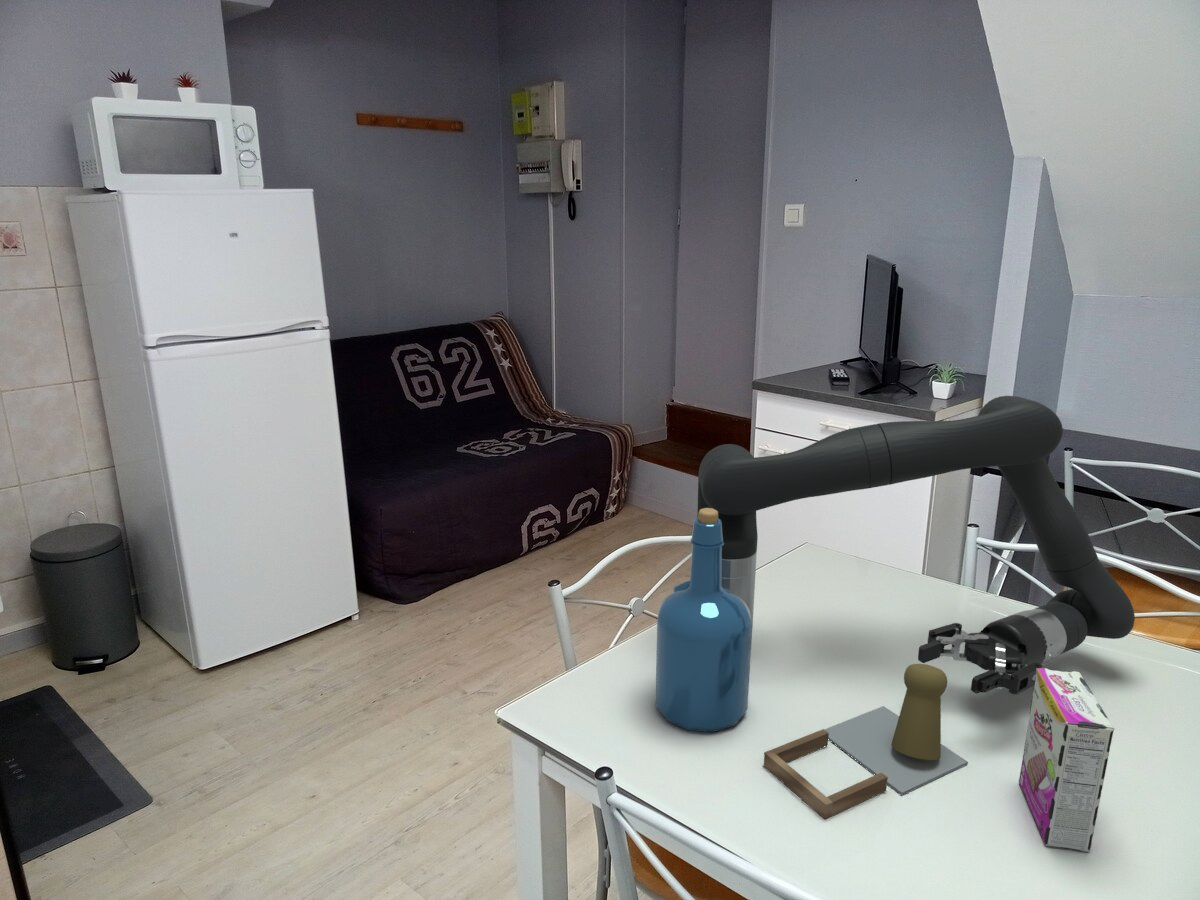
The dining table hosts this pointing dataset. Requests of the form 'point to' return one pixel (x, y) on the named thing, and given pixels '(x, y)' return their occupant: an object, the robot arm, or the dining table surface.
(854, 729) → the slate mat
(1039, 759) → the candy bar box
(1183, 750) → the dining table surface
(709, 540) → the wine bottle
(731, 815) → the dining table surface
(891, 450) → the robot arm
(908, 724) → the cork
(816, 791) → the wooden u-shaped frame
